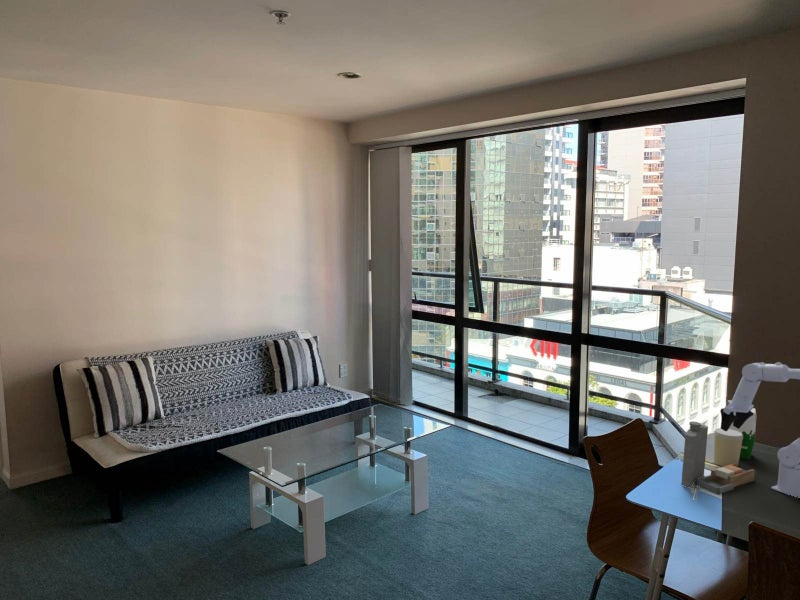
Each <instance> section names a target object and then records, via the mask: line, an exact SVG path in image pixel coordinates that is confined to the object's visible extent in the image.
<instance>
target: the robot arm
mask: <svg viewBox="0 0 800 600" xmlns="http://www.w3.org/2000/svg"><path fill="white" fill-rule="evenodd" d="M741 374H742V377H741V379H740V381H739V383H738V385H737V388H736V389H735V393H734V395H733V397H732V399H729V400H727V403H728V405H726V406H724V408H723V407H722V408H721V409H720V410H719V412H720V417H721V419H720V420H721V422H720V428H721V429H722V430H724V431H728V429H729V428H730V426H731V424H732V423H733V426H734V427H736V428H738V429H739V428H740V427H741V426H742V425H743V424H744V422H745V421H746V420H747V419H748V418H750V417H751V416H753V414H754V413H753V412H751V411H750V410H752V409H753V408H754V407H755V405H754V404H752V403H753V401H754V399H755V396H756V394H757V392H758V389H759V388H760V387H759V386H760V385H761V382H762V381H764V382H779V383H787V382H788V381H789V380H790V379H793V380H800V368H790V367H789V366H788V365H787V364H782V362H779V361H777V362H775V363H774V364H773V363H765V362H763V361H762V362H752V363H749V364H748V363H747V364H746V365H744V366H743V367H742V370H741ZM734 412H736V415H734V414H733V413H734ZM776 456H777V459H778V461H779V463H778V464H779V465H778V466H779V467H778V473H777V474H778V476H777V483H776V485H773V486H771V487H770V489H772V490H774V491H777V492H780V493H781V494H785V495H788V496H790V495H791V496H790V497H793V496H794V497H793V498H796V497H797V496H798V498H800V437H798V438H797V439H796V440H794V441H792V442H791V443H790V444H789V445H787V446H785V447H780V448H779V449H778V451H777V455H776ZM798 498H797V499H798Z"/></svg>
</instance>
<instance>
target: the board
mask: <svg viewBox="0 0 800 600" xmlns="http://www.w3.org/2000/svg"><path fill="white" fill-rule="evenodd" d="M730 465H733V466H736V467H738V466H737V464H736V463H734V464H730ZM727 466H728V465H727ZM722 467H723V466H720V467H718V468H722ZM724 467H725V466H724ZM718 468H713V469H711V470H710V475H712V481H715V482H717V483H720V484H722V485H728V484H731V483H733V484H734V486H733V488H736V487H739V486H742V485H746V484H747V483H751V482H754V481H755V475H756V473H755V472H756V471H755V469H753V468H752V469H749V470H747V469H743V468H741V469H742V473H739V474H735V475H732V476H729V477H728V479H725V478H723V477H720V476H717V475H716V469H718Z"/></svg>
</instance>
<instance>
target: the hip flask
mask: <svg viewBox="0 0 800 600" xmlns="http://www.w3.org/2000/svg"><path fill="white" fill-rule="evenodd" d="M688 425H689V429H687V431H686V432H685V435H684V447H683V448H684V449H683V459H682V460H683V461H682V471H681V483H680V484H682V485H684V486H686V487H685V488H688V487H690V488H692V487H693V485H692V484H694V483H695V482H696V481H695V480H696V479H698V478H700V477H701V478H702V476H703V477H705V466H706V456H707V443H708V442H707V441H708V434H709V433H708V432H709V431H708V429H709V426H707V425H705V424H702V423H701V422H698V421H689V423H688ZM694 481H695V482H694ZM693 482H694V483H693ZM682 485H681V486H682ZM684 486H683V487H684ZM691 486H692V487H691Z"/></svg>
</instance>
